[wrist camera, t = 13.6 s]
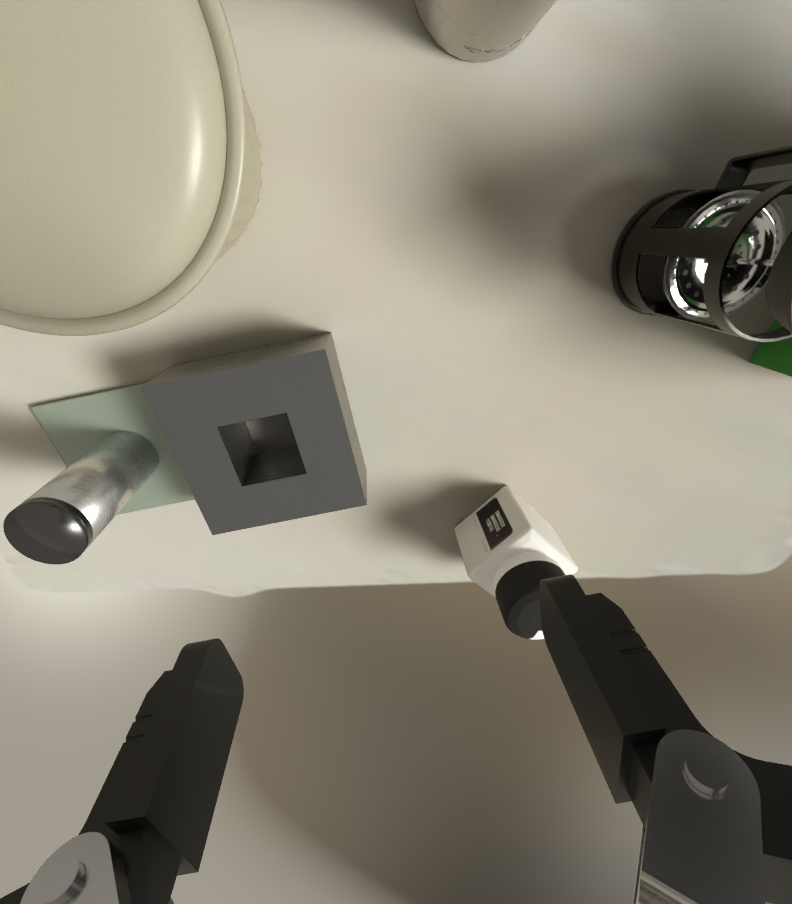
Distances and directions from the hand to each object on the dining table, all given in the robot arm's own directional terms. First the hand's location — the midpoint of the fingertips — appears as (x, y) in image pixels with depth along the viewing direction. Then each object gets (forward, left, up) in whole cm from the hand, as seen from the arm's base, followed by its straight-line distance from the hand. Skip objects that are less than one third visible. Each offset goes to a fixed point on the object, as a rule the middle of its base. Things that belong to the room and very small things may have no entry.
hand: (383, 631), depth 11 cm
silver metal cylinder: (+5, -24, -29) cm, 38 cm away
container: (+22, +10, -30) cm, 39 cm away
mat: (+5, -24, -30) cm, 39 cm away
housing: (+5, -10, -30) cm, 32 cm away
